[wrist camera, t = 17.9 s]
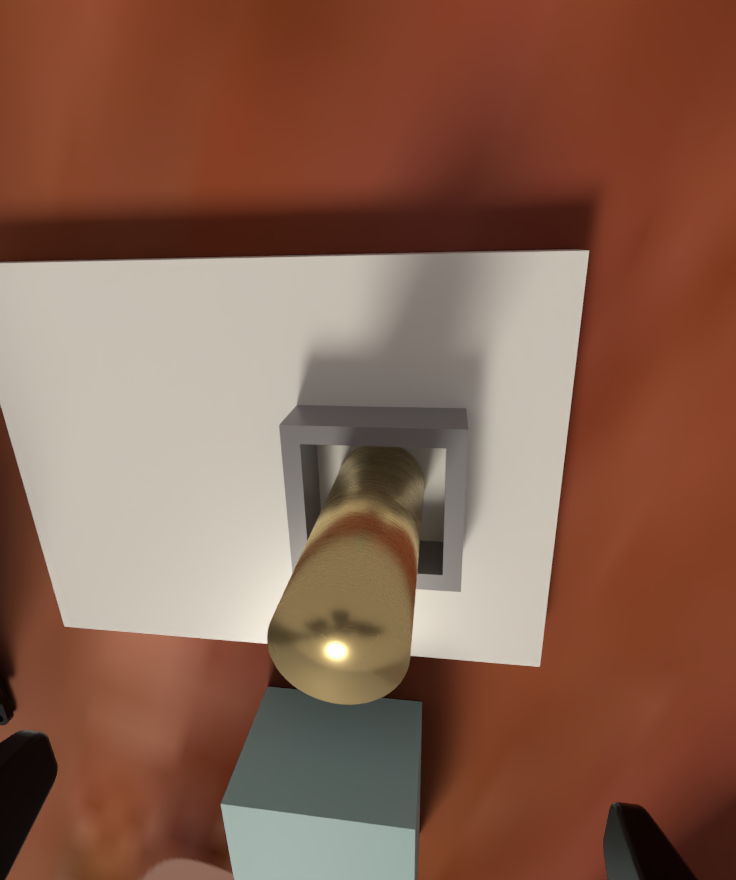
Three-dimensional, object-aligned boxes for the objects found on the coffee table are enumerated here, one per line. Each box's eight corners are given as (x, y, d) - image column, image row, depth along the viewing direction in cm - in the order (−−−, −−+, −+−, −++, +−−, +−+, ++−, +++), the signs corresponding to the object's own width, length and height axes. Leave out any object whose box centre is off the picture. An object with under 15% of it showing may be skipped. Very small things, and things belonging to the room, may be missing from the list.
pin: (341, 520, 19) (275, 699, 12) (335, 442, 18) (258, 584, 11) (424, 522, 19) (411, 709, 11) (424, 443, 18) (408, 591, 10)
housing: (282, 816, 28) (245, 945, 23) (267, 686, 25) (220, 803, 20) (419, 834, 27) (412, 974, 22) (422, 701, 24) (415, 829, 19)
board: (86, 604, 24) (30, 660, 21) (-5, 261, 19) (-98, 267, 16) (533, 639, 22) (548, 710, 18) (577, 249, 16) (609, 252, 13)
